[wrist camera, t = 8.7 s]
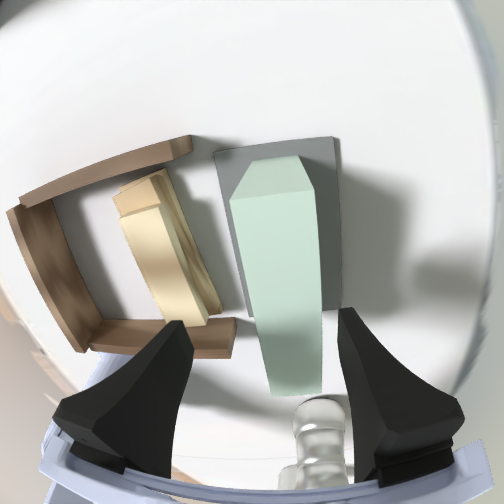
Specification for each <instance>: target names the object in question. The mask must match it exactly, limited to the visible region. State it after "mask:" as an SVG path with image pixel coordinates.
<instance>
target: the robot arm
mask: <svg viewBox="0 0 504 504" xmlns="http://www.w3.org/2000/svg"><path fill="white" fill-rule="evenodd" d="M337 343H338V350H339V358H340V363H341V367H342V371H343V375H344V380H345V384H346V388H347V392H348V396H349V401H350V407H351V416H352V426H353V440H354V484H349V485H342V486H335V487H326V488H315V489H301V490H247V489H233V488H222V487H213V486H206V485H199V484H193V483H187V482H181V481H176V480H171V459H172V447H173V438H174V431H175V425H176V419H177V414H178V409H179V405H180V402H181V399H182V396H183V393H184V390H185V387H186V383H187V380H188V377H189V374H190V371H191V368H192V362H193V357H194V350H195V349H194V347H193V344H192V342H191V340H190V337H189V335H188V333H187V330H186V328H185V325H184V323H183V320H171V321H170V322H169V323H168V324H166V325H165V326H164V327H163V328H162V329H161V330H160V331H159V333H158V334H157V335H156V336H155V337H154V338H153V339H152V340H151V341H150V342H149V343H148V344H147V345H146V346H145V347H144V348H143V349H141V350H140V351H139V352H138V353H137V354H136V355H135V356H134V355H123V354H113V353H104V352H98V354H99V355H100V357H101V359H100V360H99V362H98V364H97V365H96V367H95V369H94V371H93V372H92V374H91V376H90V377H89V379H88V381H87V383H86V385H85V386H84V388H83V390H82V392H79V393H77V394H75V395H72V396H69V397H67V398H64V399H62V400H61V402H60V404H59V406H58V408H57V410H56V411H55V413H54V415H53V417H52V418H53V420H52V422H51V424H50V426H49V427H48V429H47V432H46V434H45V438H44V440H43V442H42V445H41V449H42V451H41V453H42V456H43V457H42V460H41V462H40V464H39V466H38V471H40V472H42V473H43V474H44V475H46V476H47V477H49V478H51V479H52V480H53V482H52V484H51V487H50V489H49V492H48V494H47V496H46V499H45V501H44V504H93V502H94V503H96V504H185V503H181V502H179V501H177V500H175V499H173V498H171V497H170V496H168V495H165V494H170V495H174V496H178V497H183V498H188V499H194V500H199V501H206V502H213V503H221V504H463V503H465V502H467V501H469V500H471V499H473V498H475V497H477V496H479V495H481V494H482V493H484V492H486V491H488V490H490V489H491V488H493V487H494V483H493V478H492V474H491V470H490V466H489V463H488V459H487V455H486V451H485V448H484V445H483V442H482V439H479V440H477V441H475V442H473V443H471V444H468V445H466V446H464V447H462V448H460V449H458V450H456V451H454V452H453V453H452V449H451V447H452V446H453V440H452V436H453V435H454V434H455V433H456V432H457V431H458V430H459V428H460V427H461V426H462V424H463V423H464V420H465V417H464V414H463V411H462V409H461V406H460V405H459V403H458V401H457V399H456V398H454V397H452V396H450V395H448V394H446V393H444V392H442V391H440V390H438V389H436V388H435V387H433V386H431V385H430V384H428V383H426V382H425V381H424V380H422V379H421V378H419V377H418V376H416V375H415V374H414V373H412V372H411V371H410V370H408V369H407V368H406V367H405V366H404V365H402V364H401V363H400V362H399V361H398V360H397V359H396V358H395V357H394V356H393V355H392V354H391V353H390V352H389V351H388V350H387V349H386V348H385V347H384V346H383V345H382V344H381V343H380V342H379V341H378V340H377V338H376V337H375V336H374V335H373V334H372V332H371V331H370V330H369V329H368V327H367V326H366V325H365V324H364V322H363V321H362V320H361V318H360V317H359V315H358V314H357V313H356V311H355V310H354V308H352V307H350V308H342V309H339V312H338V337H337ZM152 490H153V491H152ZM155 491H157V492H155ZM158 492H161V493H165V494H161V493H158Z"/></svg>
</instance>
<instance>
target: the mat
mask: <svg viewBox="0 0 504 504" xmlns="http://www.w3.org/2000/svg"><path fill="white" fill-rule="evenodd" d="M213 155H214V159H215V164H216V169H217V174H218V179H219V184H220V188H221V193H222V198H223V202H224V207H225V212H226V216H227V221H228V226H229V230H230V235H231V239H232V244H233V249H234V253H235V258H236V262H237V266H238V271H239V275H240V280H241V284H242V289H243V293H244V297H245V302H246V306H247V310H248V315H249V317H254V315H253V310H252V306H251V301H250V296H249V292H248V287H247V283H246V278H245V273H244V269H243V264H242V259H241V254H240V250H239V245H238V240H237V236H236V231H235V226H234V221H233V216H232V212H231V207H230V202H229V200H230V198H231V197H232V195H233V193H234V191H235V190H236V188H237V186H238V185H239V183H240V181H241V179H242V178H243V176H244V174H245V173H246V171H247V169H248V168H249V166H250V164H251V163H252V161H256V160H263V159H270V158H278V157H286V156H295V155H298V157H299V159H300V161H301V163H302V165H303V167H304V169H305V171H306V173H307V176H308V178H309V180H310V182H311V184H312V186H313V188H314V193H315V203H316V214H317V226H318V240H319V255H320V273H321V298H322V311H326V310H335V309H341V231H340V210H339V194H338V181H337V169H336V159H335V149H334V140H333V137H332V136H330V137H317V138H307V139H297V140H288V141H280V142H272V143H265V144H258V145H252V146H245V147H239V148H233V149H228V150H222V151H217V152H214V153H213Z"/></svg>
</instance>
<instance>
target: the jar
mask: <svg viewBox="0 0 504 504" xmlns="http://www.w3.org/2000/svg"><path fill="white" fill-rule="evenodd" d="M297 470H298V468H297V465H291V466H287V467H285V468H284V469H283V470H282V471H281V472H280V473H279V483H278V490H295V485H296V476H297Z"/></svg>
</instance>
